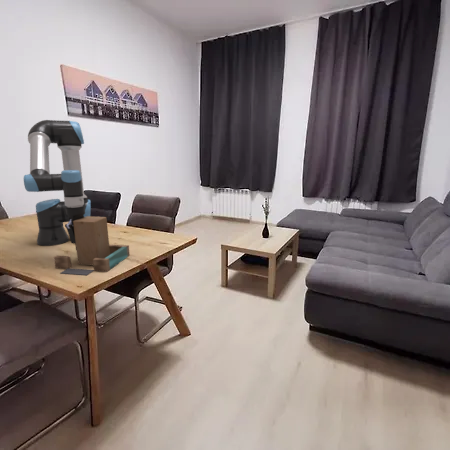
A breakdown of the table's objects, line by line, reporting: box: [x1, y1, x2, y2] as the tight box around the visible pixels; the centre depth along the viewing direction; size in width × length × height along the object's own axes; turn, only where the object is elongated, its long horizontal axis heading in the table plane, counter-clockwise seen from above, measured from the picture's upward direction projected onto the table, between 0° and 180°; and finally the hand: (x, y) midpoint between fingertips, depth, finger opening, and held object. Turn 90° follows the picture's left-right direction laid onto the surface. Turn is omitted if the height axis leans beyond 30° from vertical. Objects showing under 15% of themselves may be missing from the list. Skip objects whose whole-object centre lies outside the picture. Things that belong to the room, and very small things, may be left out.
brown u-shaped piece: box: [53, 243, 130, 272], centre depth 131 cm, size 24×20×5 cm
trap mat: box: [59, 267, 94, 276], centre depth 120 cm, size 12×5×1 cm, turn 82°
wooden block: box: [73, 215, 110, 266], centre depth 129 cm, size 10×10×20 cm
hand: (81, 256), depth 132 cm, fingers closed
